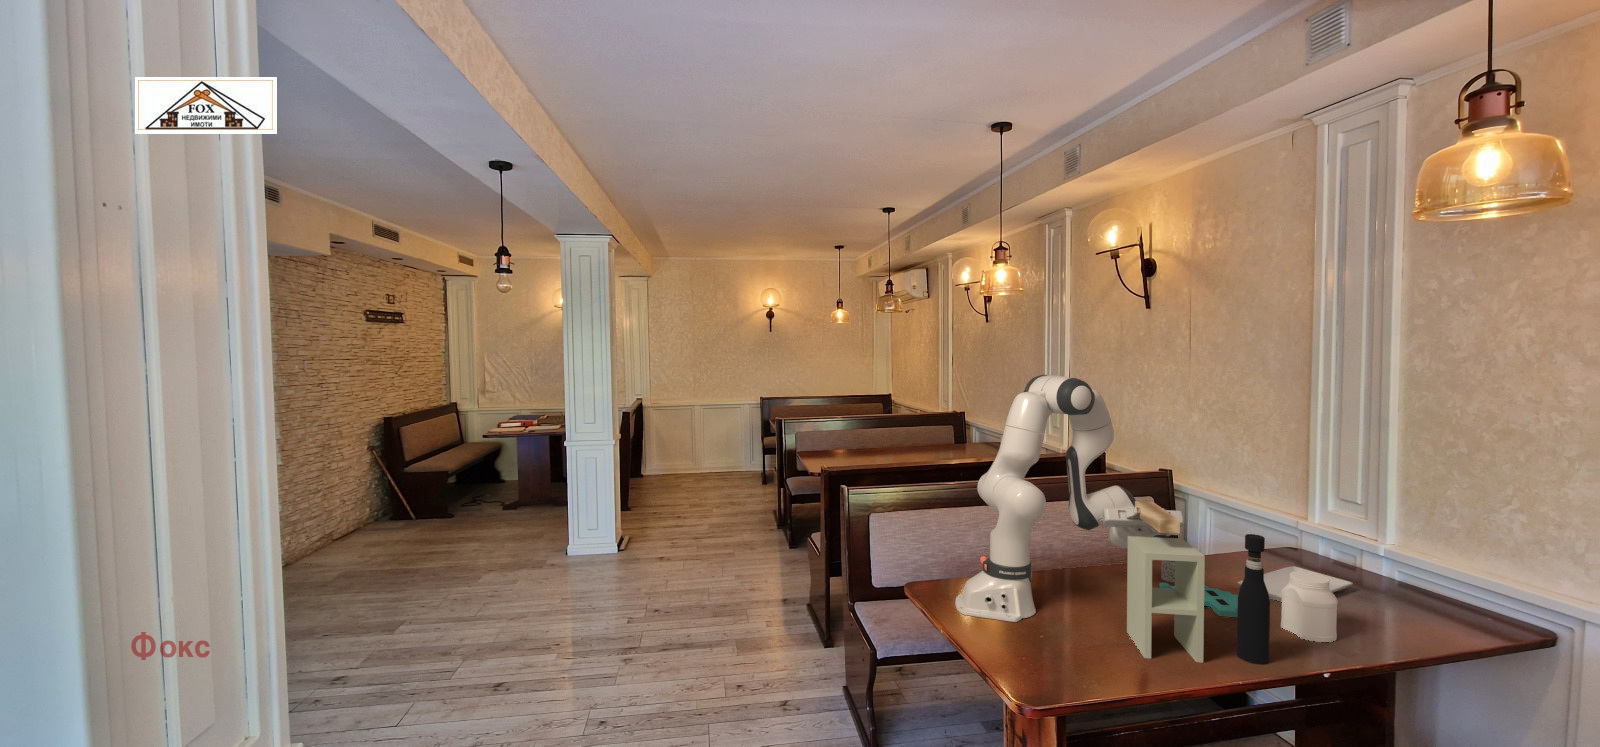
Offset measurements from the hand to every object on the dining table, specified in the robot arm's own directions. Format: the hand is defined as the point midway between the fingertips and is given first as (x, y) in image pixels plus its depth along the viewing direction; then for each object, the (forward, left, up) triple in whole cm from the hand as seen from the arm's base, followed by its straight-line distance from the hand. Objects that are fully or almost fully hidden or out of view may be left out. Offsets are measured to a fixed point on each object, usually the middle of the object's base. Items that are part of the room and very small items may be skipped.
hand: (1149, 510), depth 170 cm
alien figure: (+23, +21, -33) cm, 45 cm away
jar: (+40, +4, -32) cm, 52 cm away
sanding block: (0, -5, -2) cm, 5 cm away
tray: (+52, +35, -33) cm, 71 cm away
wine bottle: (+19, -13, -32) cm, 40 cm away
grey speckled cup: (+20, +41, -32) cm, 56 cm away
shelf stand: (0, -11, -32) cm, 34 cm away
